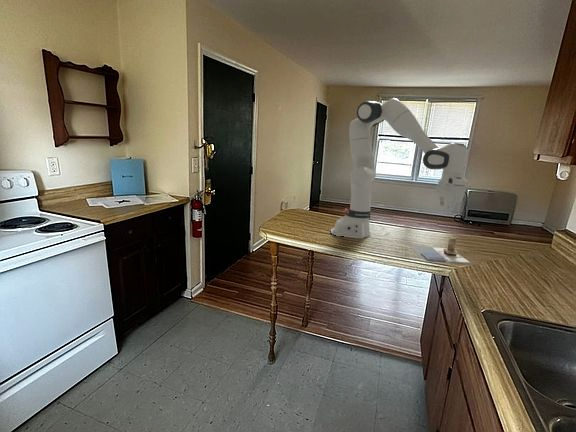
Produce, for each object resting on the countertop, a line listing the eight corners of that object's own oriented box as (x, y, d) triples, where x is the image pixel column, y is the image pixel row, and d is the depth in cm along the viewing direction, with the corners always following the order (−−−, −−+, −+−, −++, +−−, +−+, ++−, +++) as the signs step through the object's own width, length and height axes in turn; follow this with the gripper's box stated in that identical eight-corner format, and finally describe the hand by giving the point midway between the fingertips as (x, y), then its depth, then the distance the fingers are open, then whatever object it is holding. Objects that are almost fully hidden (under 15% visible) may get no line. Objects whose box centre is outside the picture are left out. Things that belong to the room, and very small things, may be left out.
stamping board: (426, 263, 138) (426, 258, 137) (409, 248, 157) (410, 243, 157) (471, 266, 138) (472, 260, 137) (449, 250, 157) (450, 245, 157)
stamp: (447, 255, 145) (450, 239, 143) (443, 252, 149) (445, 236, 147) (457, 256, 145) (460, 239, 143) (452, 253, 149) (455, 237, 147)
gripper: (435, 175, 155) (430, 202, 159) (455, 181, 136) (449, 212, 139) (448, 176, 155) (442, 203, 159) (470, 182, 135) (463, 213, 139)
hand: (445, 207), depth 149 cm, fingers open, 8 cm apart
